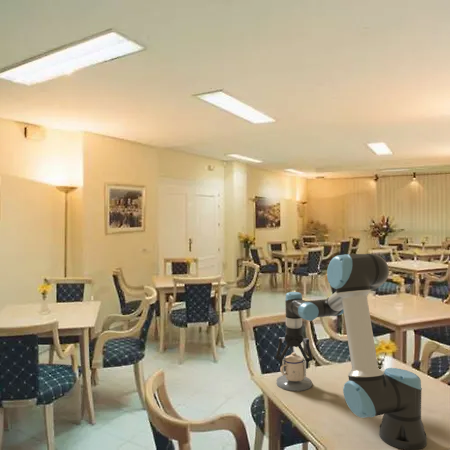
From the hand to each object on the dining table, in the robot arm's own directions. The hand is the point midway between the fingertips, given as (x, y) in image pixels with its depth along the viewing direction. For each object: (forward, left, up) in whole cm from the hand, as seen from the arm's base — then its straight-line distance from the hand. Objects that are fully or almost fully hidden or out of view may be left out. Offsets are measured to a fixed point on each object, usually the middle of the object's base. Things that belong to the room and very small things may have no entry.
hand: (294, 374), depth 188 cm
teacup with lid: (0, +1, -2) cm, 2 cm away
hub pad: (0, 0, -4) cm, 4 cm away
